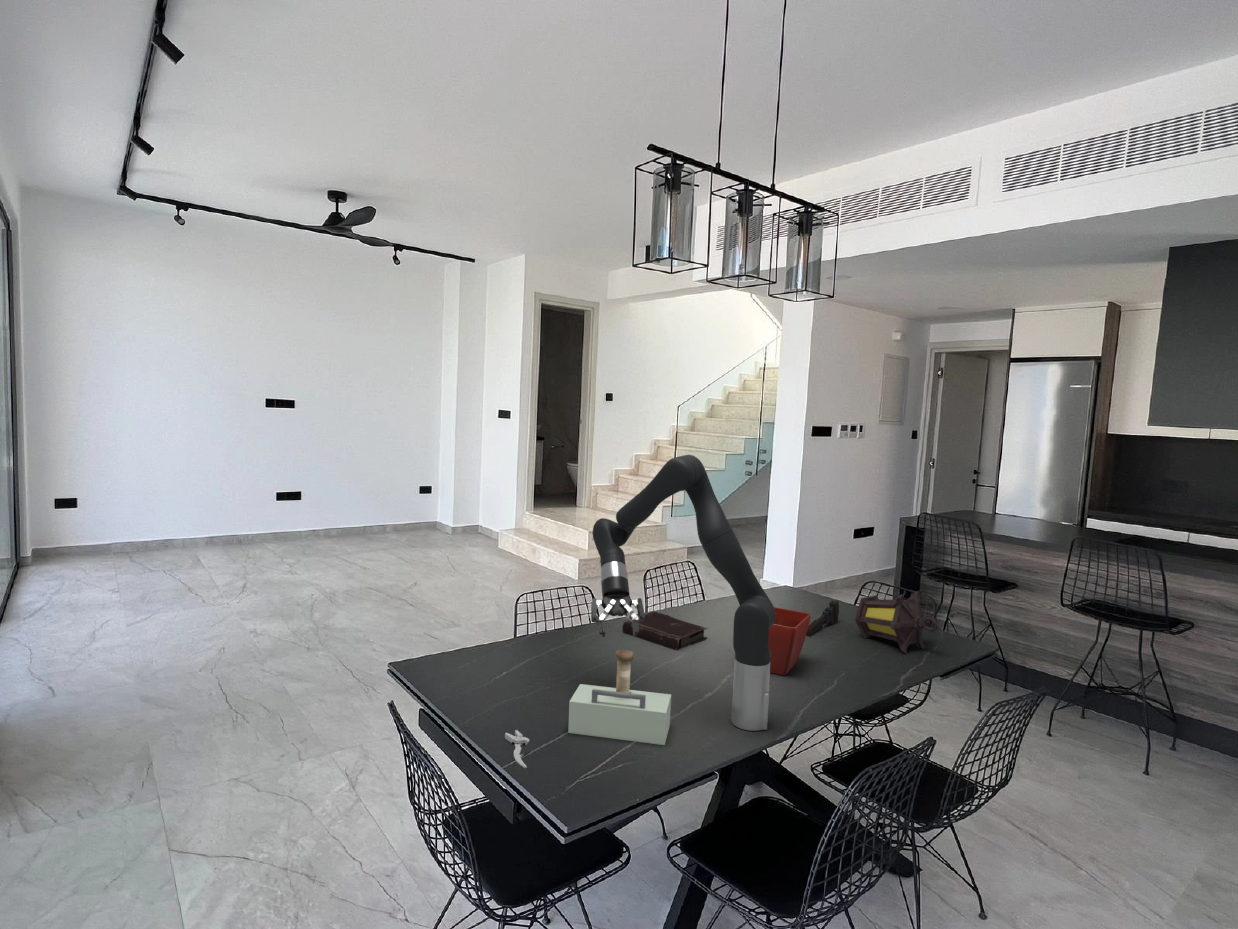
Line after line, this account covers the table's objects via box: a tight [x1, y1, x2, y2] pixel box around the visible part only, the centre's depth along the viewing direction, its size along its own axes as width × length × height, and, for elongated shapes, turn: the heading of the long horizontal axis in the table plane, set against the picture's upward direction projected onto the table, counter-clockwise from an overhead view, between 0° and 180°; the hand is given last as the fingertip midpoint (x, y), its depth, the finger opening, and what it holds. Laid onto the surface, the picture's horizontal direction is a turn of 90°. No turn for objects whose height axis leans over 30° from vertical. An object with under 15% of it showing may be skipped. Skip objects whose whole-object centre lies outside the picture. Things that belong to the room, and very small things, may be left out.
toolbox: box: [567, 683, 672, 746], centre depth 174 cm, size 24×11×12 cm, turn 79°
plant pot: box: [768, 606, 812, 676], centre depth 223 cm, size 19×19×17 cm
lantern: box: [854, 590, 939, 655], centre depth 248 cm, size 22×23×30 cm
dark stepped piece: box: [806, 600, 840, 638], centre depth 264 cm, size 8×3×25 cm
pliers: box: [504, 729, 530, 769], centre depth 164 cm, size 10×2×15 cm
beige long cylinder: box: [615, 649, 634, 699], centre depth 175 cm, size 4×4×19 cm
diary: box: [622, 610, 708, 651], centre depth 249 cm, size 19×25×5 cm
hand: (619, 635), depth 183 cm, fingers open, 8 cm apart
